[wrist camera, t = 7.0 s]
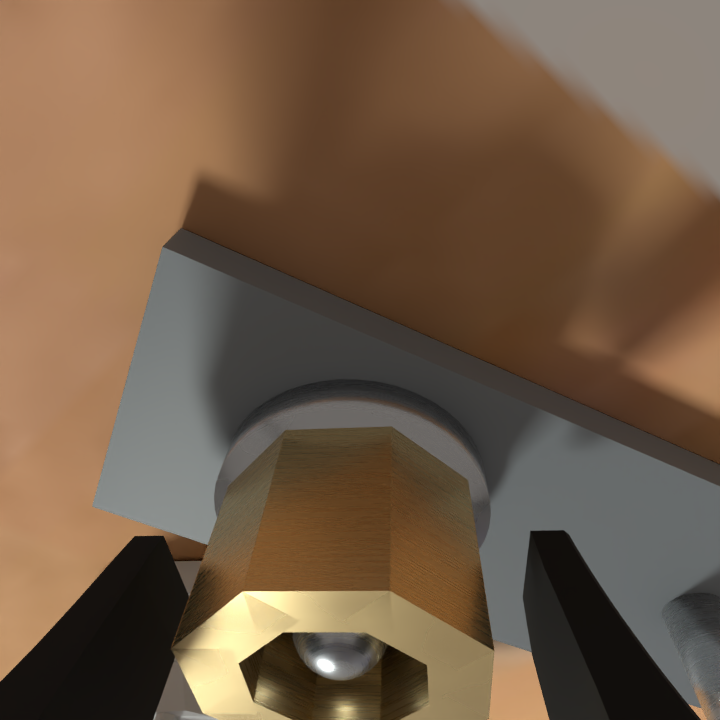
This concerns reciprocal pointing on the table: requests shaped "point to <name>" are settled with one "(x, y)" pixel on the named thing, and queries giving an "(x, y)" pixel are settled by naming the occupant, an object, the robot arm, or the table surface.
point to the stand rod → (698, 645)
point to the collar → (341, 584)
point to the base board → (433, 381)
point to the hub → (352, 410)
